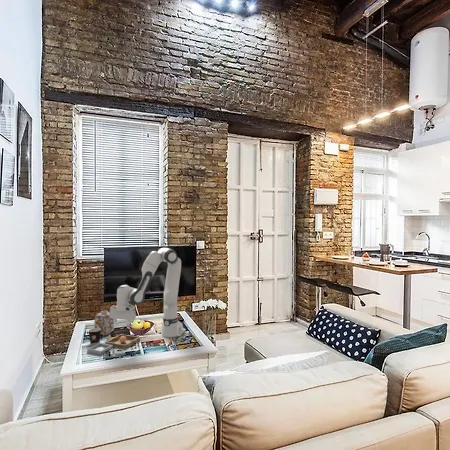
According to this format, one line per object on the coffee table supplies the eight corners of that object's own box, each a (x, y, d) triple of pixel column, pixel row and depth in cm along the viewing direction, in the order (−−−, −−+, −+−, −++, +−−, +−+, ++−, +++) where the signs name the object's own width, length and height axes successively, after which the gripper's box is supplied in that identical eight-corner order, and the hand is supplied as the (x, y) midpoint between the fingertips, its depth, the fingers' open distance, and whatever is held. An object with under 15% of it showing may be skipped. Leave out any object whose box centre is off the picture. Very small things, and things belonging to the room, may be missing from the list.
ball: (122, 341, 249) (122, 334, 249) (127, 342, 247) (127, 335, 247) (118, 343, 244) (118, 336, 244) (123, 344, 242) (123, 337, 242)
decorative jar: (107, 335, 264) (107, 313, 263) (93, 334, 266) (93, 312, 265) (114, 330, 276) (114, 309, 275) (101, 329, 277) (101, 308, 277)
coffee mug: (103, 341, 251) (103, 328, 251) (96, 345, 242) (96, 332, 242) (90, 339, 254) (90, 327, 254) (83, 343, 246) (82, 330, 245)
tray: (99, 346, 241) (99, 342, 241) (113, 348, 237) (113, 345, 237) (87, 352, 229) (87, 348, 229) (101, 355, 225) (101, 351, 225)
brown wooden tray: (121, 338, 257) (121, 333, 257) (140, 341, 251) (140, 337, 250) (105, 346, 240) (105, 341, 240) (124, 350, 234) (124, 345, 234)
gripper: (107, 306, 244) (107, 325, 244) (132, 308, 240) (132, 327, 240) (112, 304, 250) (112, 322, 250) (136, 306, 246) (136, 324, 246)
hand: (122, 324), depth 245 cm, fingers open, 8 cm apart
